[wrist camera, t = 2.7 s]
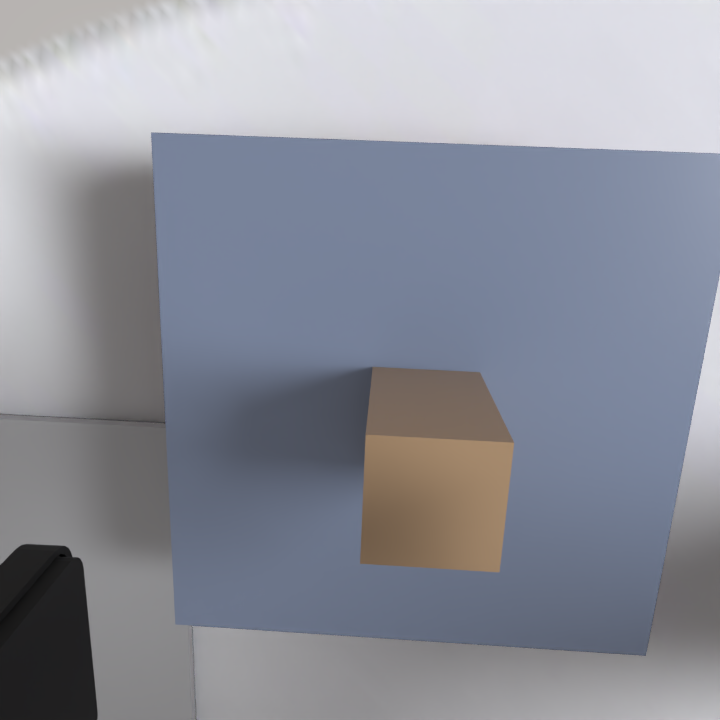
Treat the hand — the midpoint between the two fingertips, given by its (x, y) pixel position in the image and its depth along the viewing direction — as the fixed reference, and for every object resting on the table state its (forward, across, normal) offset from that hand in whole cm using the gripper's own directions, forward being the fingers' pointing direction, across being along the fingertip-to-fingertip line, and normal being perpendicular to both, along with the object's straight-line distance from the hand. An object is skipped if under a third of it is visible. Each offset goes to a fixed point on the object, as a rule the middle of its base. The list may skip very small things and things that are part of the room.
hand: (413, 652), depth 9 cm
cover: (+12, -1, 0) cm, 12 cm away
